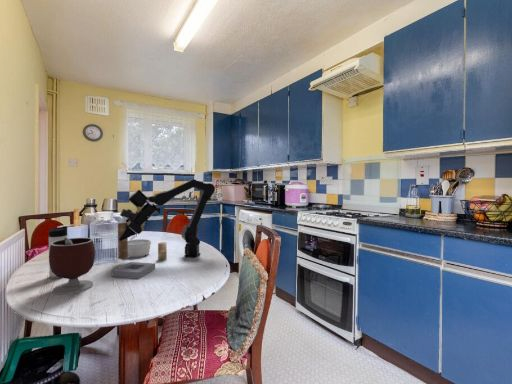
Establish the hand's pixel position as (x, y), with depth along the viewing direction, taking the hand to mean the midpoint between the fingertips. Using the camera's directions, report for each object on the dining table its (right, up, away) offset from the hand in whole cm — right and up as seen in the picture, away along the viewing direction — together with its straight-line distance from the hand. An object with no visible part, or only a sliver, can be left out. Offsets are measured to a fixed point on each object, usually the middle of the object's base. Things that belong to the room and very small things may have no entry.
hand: (119, 239), depth 128 cm
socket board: (+11, -12, -10) cm, 19 cm away
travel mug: (-17, -13, -15) cm, 26 cm away
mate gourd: (-3, -13, -27) cm, 31 cm away
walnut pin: (+1, -9, +1) cm, 9 cm away
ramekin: (0, -11, +19) cm, 22 cm away
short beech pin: (+16, -12, +11) cm, 23 cm away
